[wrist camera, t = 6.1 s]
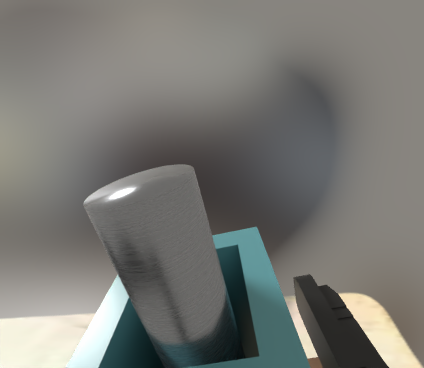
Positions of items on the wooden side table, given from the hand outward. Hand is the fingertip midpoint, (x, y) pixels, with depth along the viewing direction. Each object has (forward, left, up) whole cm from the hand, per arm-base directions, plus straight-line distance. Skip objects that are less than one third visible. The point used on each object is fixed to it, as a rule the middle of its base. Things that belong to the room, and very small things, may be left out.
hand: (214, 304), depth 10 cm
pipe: (+1, -3, -16) cm, 17 cm away
